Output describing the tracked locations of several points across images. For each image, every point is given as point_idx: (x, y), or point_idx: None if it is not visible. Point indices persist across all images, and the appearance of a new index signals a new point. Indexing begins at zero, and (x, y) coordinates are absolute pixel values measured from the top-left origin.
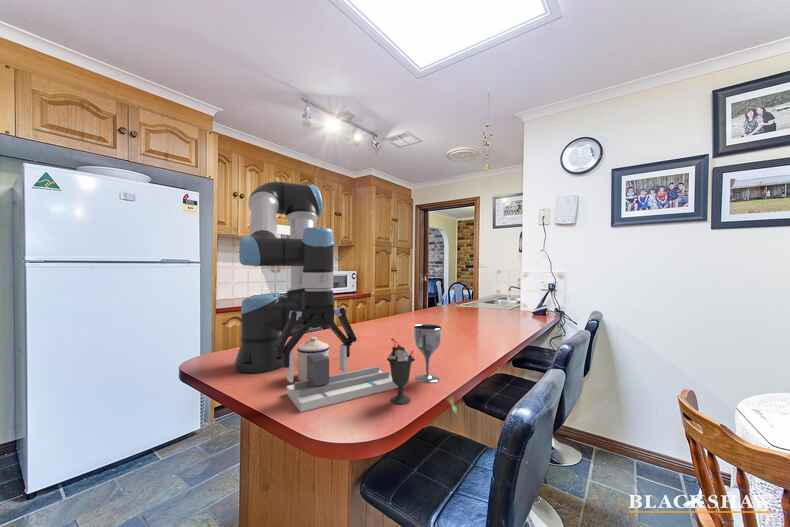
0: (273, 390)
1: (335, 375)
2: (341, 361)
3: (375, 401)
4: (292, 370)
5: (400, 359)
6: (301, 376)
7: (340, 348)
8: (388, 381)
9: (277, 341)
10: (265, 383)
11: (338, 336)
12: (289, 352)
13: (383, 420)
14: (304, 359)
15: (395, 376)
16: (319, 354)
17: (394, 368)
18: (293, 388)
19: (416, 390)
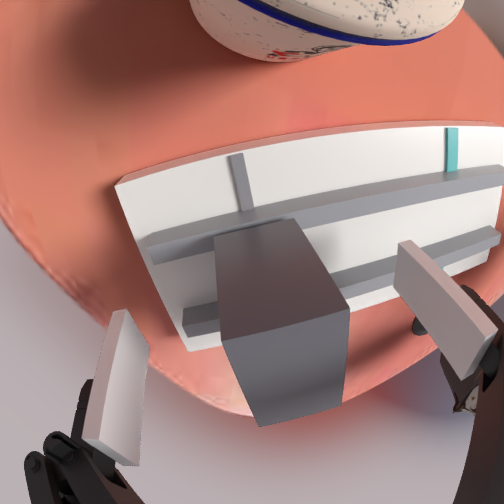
0: (69, 117)
1: (368, 209)
2: (421, 290)
3: (392, 313)
4: (141, 391)
5: (466, 411)
6: (201, 23)
7: (467, 328)
8: (470, 264)
9: (32, 500)
10: (41, 28)
11: (482, 426)
12: (118, 473)
13: (352, 379)
14: (222, 6)
15: (445, 374)
16: (325, 344)
17: (452, 392)
18: (149, 228)
19: (481, 276)
